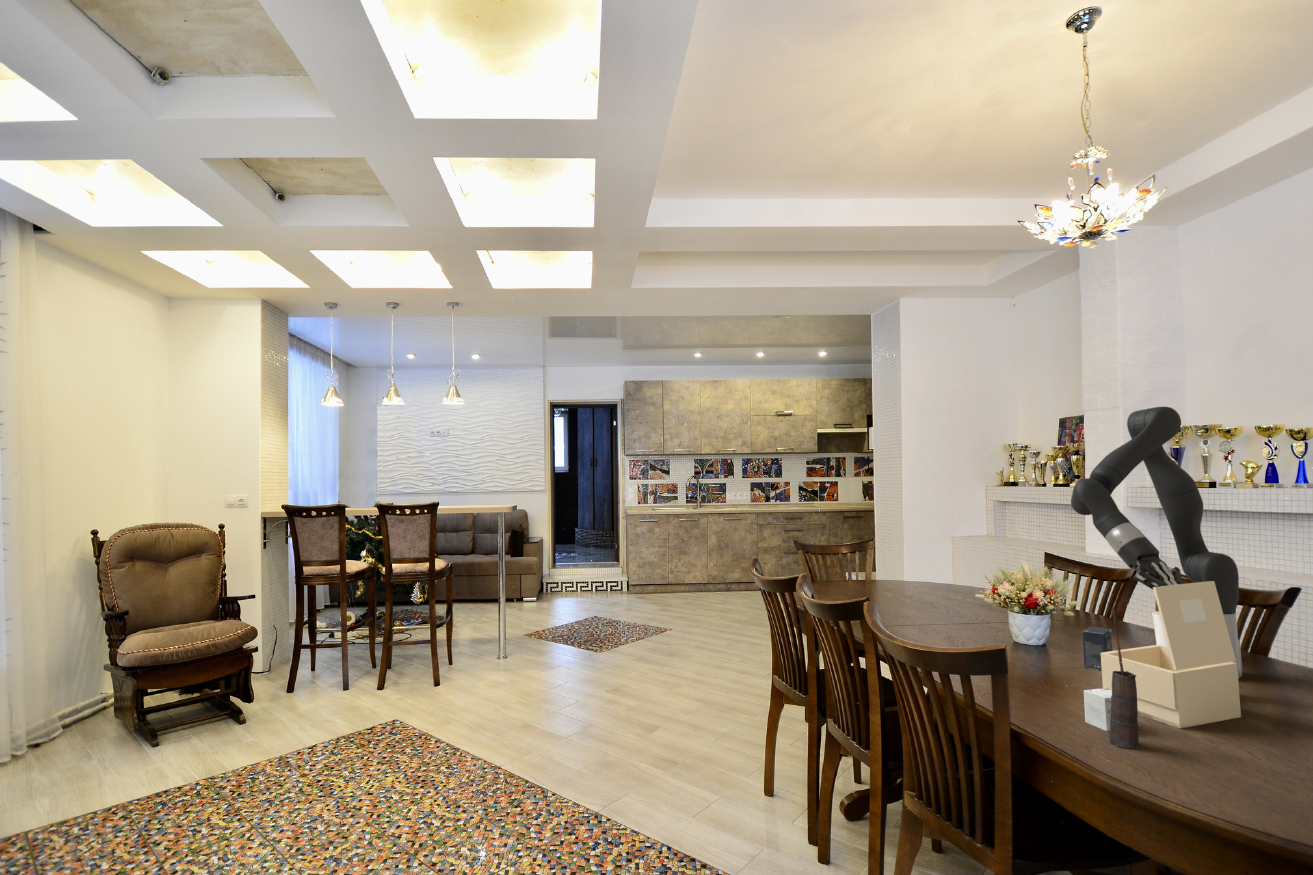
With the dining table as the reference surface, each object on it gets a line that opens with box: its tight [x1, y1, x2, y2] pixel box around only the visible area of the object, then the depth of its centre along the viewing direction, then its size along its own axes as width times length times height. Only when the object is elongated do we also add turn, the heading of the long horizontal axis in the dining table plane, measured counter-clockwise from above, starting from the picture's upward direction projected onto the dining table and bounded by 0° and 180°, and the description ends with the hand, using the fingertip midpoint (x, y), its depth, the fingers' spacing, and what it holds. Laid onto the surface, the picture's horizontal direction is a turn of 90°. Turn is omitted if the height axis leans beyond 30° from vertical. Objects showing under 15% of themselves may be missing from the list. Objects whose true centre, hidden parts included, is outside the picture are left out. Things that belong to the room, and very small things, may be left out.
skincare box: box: [1083, 687, 1112, 732], centre depth 153 cm, size 6×6×7 cm
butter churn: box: [1108, 606, 1140, 749], centre depth 142 cm, size 9×10×28 cm
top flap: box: [1152, 581, 1236, 670], centre depth 155 cm, size 19×18×1 cm
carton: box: [1101, 644, 1242, 730], centre depth 162 cm, size 20×18×12 cm
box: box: [1082, 626, 1113, 671], centre depth 197 cm, size 8×6×11 cm
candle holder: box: [1151, 610, 1168, 647], centre depth 207 cm, size 10×10×12 cm
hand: (1184, 604), depth 158 cm, fingers closed
